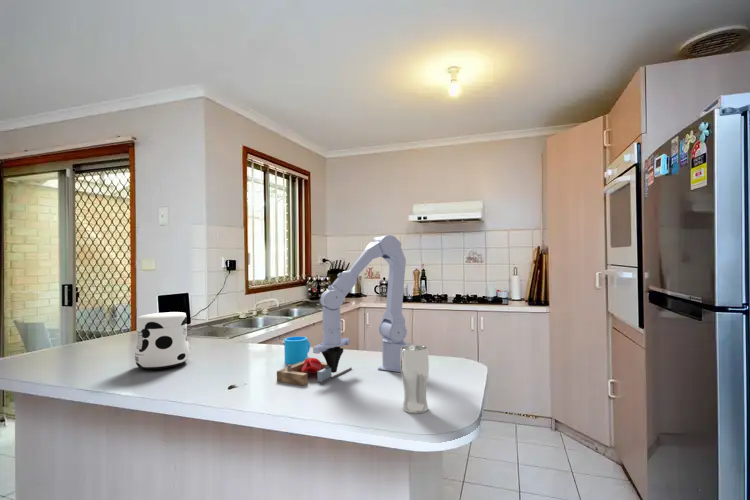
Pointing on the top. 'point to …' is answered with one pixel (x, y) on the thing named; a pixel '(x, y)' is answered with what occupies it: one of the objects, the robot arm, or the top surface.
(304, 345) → the mug
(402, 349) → the beer glass
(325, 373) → the pale blue-grey box
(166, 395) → the top surface
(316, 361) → the cap
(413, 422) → the top surface
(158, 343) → the milk container
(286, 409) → the top surface
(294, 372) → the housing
